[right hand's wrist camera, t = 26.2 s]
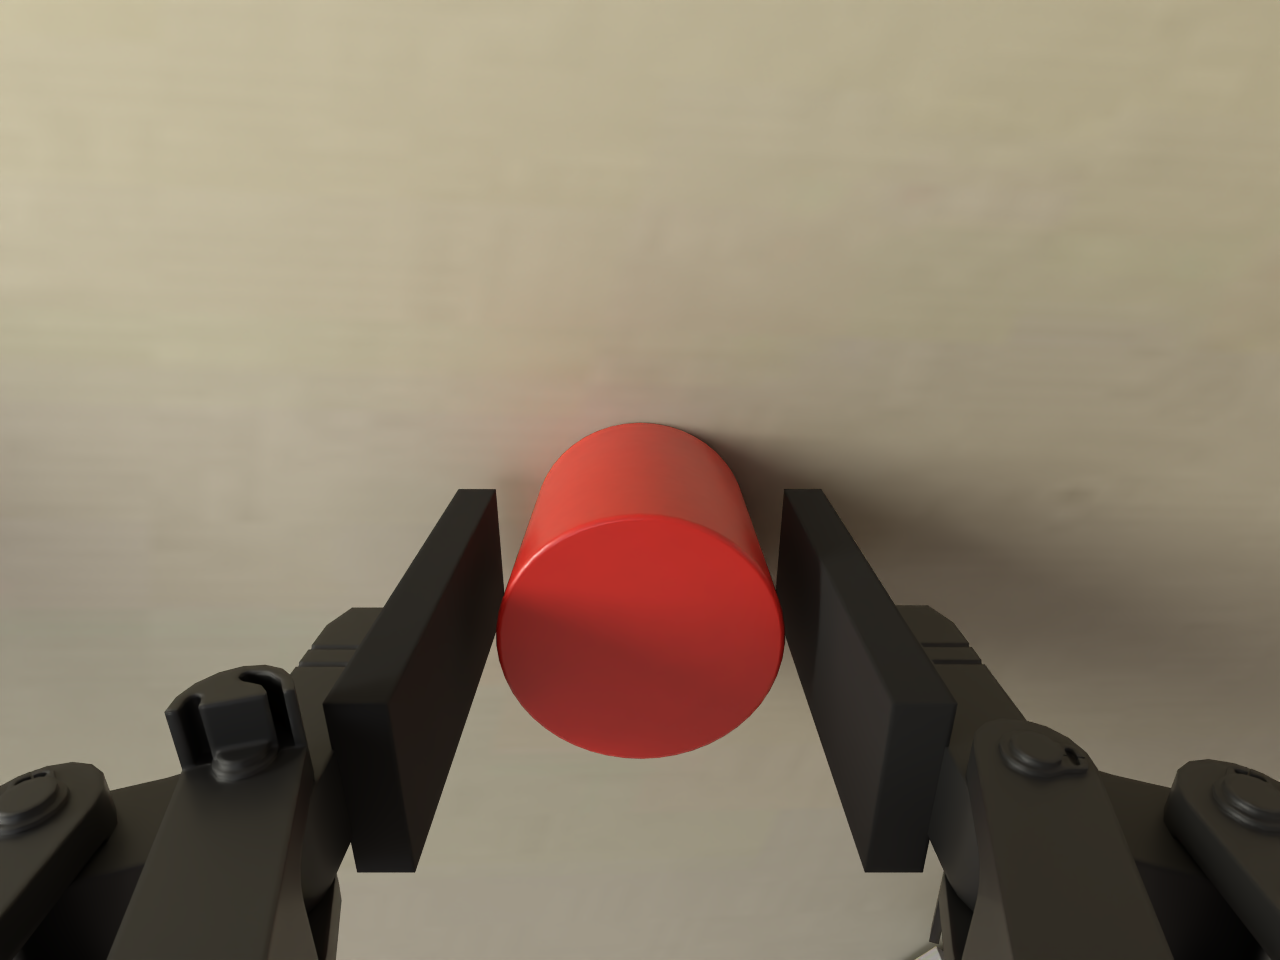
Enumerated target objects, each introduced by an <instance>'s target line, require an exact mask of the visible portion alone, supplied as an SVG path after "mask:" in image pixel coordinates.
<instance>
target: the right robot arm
mask: <svg viewBox="0 0 1280 960" xmlns="http://www.w3.org/2000/svg"><path fill="white" fill-rule="evenodd" d="M776 593H777V596H778V599H779V602H780V605H781V608H782V612H783V618H784V625H785V636H786V639H787V642H788V645H789V648H790V651H791V654H792V657H793V660H794V663H795V666H796V669H797V672H798V675H799V678H800V681H801V684H802V687H803V690H804V693H805V696H806V699H807V702H808V705H809V708H810V711H811V714H812V717H813V720H814V723H815V726H816V729H817V732H818V734H819V737H820V740H821V743H822V746H823V749H824V752H825V755H826V758H827V761H828V764H829V767H830V770H831V773H832V776H833V779H834V782H835V785H836V788H837V791H838V794H839V797H840V800H841V803H842V806H843V809H844V812H845V815H846V818H847V821H848V824H849V827H850V830H851V832H852V835H853V838H854V841H855V844H856V847H857V850H858V853H859V856H860V859H861V862H862V865H863V868H864V871H865V872H923V869H924V864H925V859H926V854H927V849H928V845H929V840H930V841H931V843H932V846H933V848H934V850H935V852H936V854H937V857H938V859H939V861H940V863H941V865H942V868H943V870H944V873H943V877H942V882H941V886H940V891H939V895H938V900H937V904H936V909H935V913H934V918H933V922H932V927H931V933H930V940H929V942H933V943H936V944H939V940H940V936H941V932H942V939H943V950H944V960H1280V782H1278V781H1276V780H1274V779H1272V778H1270V777H1269V776H1267V775H1265V774H1263V773H1260V772H1258V771H1255V770H1253V769H1249V768H1247V767H1243V766H1240V765H1238V764H1235V763H1229V762H1223V761H1217V760H1211V759H1206V760H1197V761H1189V762H1188V763H1186V764H1185V765H1184V766H1182V767H1181V768H1180V769H1178V771H1177V774H1176V777H1175V779H1174V782H1173V785H1172V787H1171V788H1168V787H1164V786H1159V785H1155V784H1150V783H1146V782H1142V781H1137V780H1133V779H1128V778H1124V777H1119V776H1115V775H1111V774H1108V773H1105V772H1101V771H1098V769H1097V767H1096V766H1095V764H1094V763H1093V761H1092V760H1091V758H1090V757H1089V755H1088V754H1087V753H1086V752H1085V751H1084V750H1083V749H1081V748H1080V747H1079V746H1078V745H1077V744H1075V743H1074V742H1073V741H1072V740H1071V739H1069V738H1068V737H1066V736H1064V735H1062V734H1060V733H1058V732H1056V731H1054V730H1052V729H1050V728H1048V727H1046V726H1043V725H1039V724H1036V723H1033V722H1029V721H1027V720H1026V719H1025V718H1024V716H1023V715H1022V714H1021V712H1020V711H1019V710H1018V708H1017V707H1016V706H1015V704H1014V703H1013V702H1012V700H1011V699H1010V698H1009V696H1008V695H1007V694H1006V692H1005V691H1004V690H1003V688H1002V687H1001V686H1000V684H999V683H998V682H997V680H996V679H995V678H994V676H993V675H992V674H991V672H990V671H989V670H988V668H987V667H986V666H985V664H982V663H981V659H980V658H979V656H978V655H977V654H976V652H975V651H974V650H973V648H972V647H969V643H968V642H967V640H966V639H965V638H964V636H963V635H962V634H961V632H960V631H959V630H958V628H957V627H956V626H955V624H954V623H953V622H951V621H950V620H948V619H947V618H946V617H944V616H943V615H941V614H940V613H938V612H937V611H935V610H934V609H932V608H931V607H929V606H895V604H894V603H893V601H892V600H891V598H890V596H889V595H888V593H887V592H886V590H885V589H884V587H883V585H882V584H881V582H880V581H879V579H878V578H877V576H876V574H875V573H874V571H873V570H872V568H871V567H870V565H869V563H868V562H867V560H866V559H865V557H864V556H863V554H862V552H861V551H860V549H859V548H858V546H857V545H856V543H855V541H854V540H853V538H852V537H851V535H850V534H849V532H848V530H847V529H846V527H845V526H844V524H843V523H842V521H841V519H840V518H839V516H838V515H837V513H836V512H835V510H834V508H833V507H832V505H831V504H830V502H829V501H828V499H827V497H826V496H825V494H824V493H823V491H822V490H821V489H784V498H783V510H782V522H781V534H780V547H779V559H778V571H777V583H776ZM503 596H504V583H503V571H502V559H501V547H500V535H499V523H498V511H497V498H496V489H459V490H458V491H457V493H456V494H455V496H454V497H453V499H452V501H451V502H450V504H449V505H448V507H447V508H446V510H445V512H444V513H443V515H442V516H441V518H440V519H439V521H438V523H437V524H436V526H435V527H434V529H433V530H432V532H431V534H430V535H429V537H428V538H427V540H426V541H425V543H424V545H423V546H422V548H421V549H420V551H419V552H418V554H417V556H416V557H415V559H414V560H413V562H412V563H411V565H410V567H409V568H408V570H407V571H406V573H405V574H404V576H403V578H402V579H401V581H400V582H399V584H398V585H397V587H396V589H395V590H394V592H393V593H392V595H391V596H390V598H389V600H388V601H387V603H386V604H385V606H384V607H383V608H351V609H350V610H348V611H347V612H345V613H344V614H342V615H341V616H339V617H338V618H337V619H335V620H334V621H332V622H331V623H329V624H328V625H327V626H326V627H325V628H324V630H323V631H322V632H321V634H320V635H319V636H318V638H317V639H316V640H315V642H314V643H313V644H312V649H311V650H308V651H307V653H306V654H305V655H304V657H303V658H302V659H301V661H300V662H299V667H295V669H294V670H293V671H292V673H291V674H288V673H287V672H286V671H285V670H284V669H282V668H277V667H272V666H268V665H256V666H242V667H238V668H235V669H231V670H227V671H223V672H219V673H217V674H215V675H213V676H210V677H208V678H206V679H204V680H202V681H199V682H197V683H195V684H194V685H192V686H191V687H190V688H188V689H187V690H185V691H184V692H183V693H181V694H180V695H178V696H177V697H176V698H175V699H174V701H173V702H172V703H171V705H170V706H169V707H168V708H167V710H166V711H165V716H166V719H167V722H168V725H169V728H170V732H171V735H172V738H173V741H174V744H175V748H176V751H177V754H178V757H179V760H180V764H181V767H182V772H181V774H179V775H175V776H172V777H168V778H165V779H160V780H156V781H151V782H147V783H143V784H138V785H134V786H129V787H125V788H121V789H116V790H112V791H110V790H109V788H108V785H107V782H106V779H105V777H104V774H103V772H101V771H100V770H99V769H97V768H96V767H95V766H94V765H92V764H85V763H76V762H70V763H64V764H58V765H52V766H46V767H43V768H41V769H38V770H34V771H32V772H29V773H26V774H24V775H21V776H18V777H16V778H14V779H13V780H11V781H9V782H7V783H5V784H3V785H2V786H0V960H336V952H337V941H338V931H339V921H340V910H341V894H340V887H339V882H338V877H337V871H338V869H339V867H340V864H341V862H342V860H343V858H344V856H345V853H346V851H347V849H348V847H349V845H350V842H351V845H352V850H353V854H354V859H355V864H356V869H357V872H415V871H416V868H417V865H418V862H419V859H420V856H421V853H422V850H423V847H424V844H425V841H426V838H427V835H428V832H429V829H430V827H431V824H432V821H433V818H434V815H435V812H436V809H437V806H438V803H439V800H440V797H441V794H442V791H443V788H444V785H445V782H446V779H447V776H448V773H449V770H450V767H451V764H452V761H453V758H454V755H455V752H456V749H457V746H458V743H459V740H460V737H461V734H462V731H463V728H464V726H465V723H466V720H467V717H468V714H469V711H470V708H471V705H472V702H473V699H474V696H475V693H476V690H477V687H478V684H479V681H480V678H481V675H482V672H483V669H484V666H485V663H486V660H487V657H488V654H489V651H490V648H491V645H492V642H493V639H494V636H495V633H496V626H497V619H498V612H499V609H500V606H501V602H502V599H503Z"/></svg>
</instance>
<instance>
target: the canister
mask: <svg viewBox="0 0 1280 960" xmlns="http://www.w3.org/2000/svg"><path fill="white" fill-rule="evenodd" d="M496 645H497V651H498V656H499V662H500V664H501V667H502V670H503V673H504V676H505V679H506V681H507V683H508V685H509V687H510V688H511V690H512V692H513V694H514V695H515V697H516V698H517V700H518V701H519V702H520V704H521V705H522V706H523V708H524V709H525V710H526V711H527V712H528V713H529V714H530V715H531V716H532V717H533V718H534V719H535V720H536V721H537V722H539V723H540V724H541V725H542V726H543V727H544V728H546V729H547V730H549V731H550V732H552V733H553V734H555V735H556V736H558V737H559V738H561V739H563V740H565V741H567V742H569V743H571V744H573V745H576V746H578V747H581V748H584V749H586V750H589V751H592V752H596V753H600V754H604V755H608V756H615V757H622V758H638V759H645V758H660V757H666V756H672V755H678V754H681V753H685V752H689V751H692V750H695V749H698V748H700V747H703V746H705V745H708V744H710V743H712V742H714V741H716V740H718V739H719V738H721V737H723V736H725V735H726V734H728V733H729V732H731V731H732V730H734V729H735V728H737V727H738V726H739V725H740V724H741V723H743V722H744V721H745V720H746V719H747V718H748V717H749V716H750V715H751V714H752V713H753V712H754V711H755V710H756V709H757V707H758V706H759V705H760V704H761V703H762V701H763V700H764V698H765V697H766V695H767V694H768V692H769V691H770V689H771V687H772V685H773V683H774V681H775V679H776V677H777V674H778V671H779V668H780V665H781V661H782V658H783V652H784V645H785V625H784V618H783V612H782V608H781V605H780V602H779V599H778V596H777V593H776V590H775V587H774V584H773V581H772V579H771V576H770V573H769V570H768V567H767V564H766V561H765V559H764V556H763V553H762V550H761V547H760V544H759V542H758V539H757V536H756V533H755V530H754V527H753V524H752V522H751V519H750V516H749V513H748V510H747V507H746V505H745V502H744V499H743V496H742V493H741V490H740V488H739V485H738V483H737V481H736V479H735V477H734V475H733V473H732V471H731V470H730V468H729V467H728V465H727V464H726V463H725V462H724V460H723V459H722V458H721V457H720V456H719V455H718V454H717V453H716V452H715V451H714V450H713V449H712V448H710V447H709V446H708V445H707V444H705V443H704V442H702V441H701V440H699V439H698V438H696V437H694V436H692V435H690V434H688V433H686V432H684V431H681V430H678V429H675V428H672V427H669V426H664V425H658V424H651V423H631V424H622V425H617V426H612V427H609V428H606V429H603V430H600V431H597V432H595V433H593V434H591V435H589V436H587V437H585V438H583V439H582V440H580V441H579V442H577V443H576V444H574V445H573V446H572V447H570V448H569V449H568V450H567V451H566V452H565V453H564V454H563V455H562V456H561V457H560V458H559V459H558V460H557V461H556V463H555V464H554V465H553V467H552V468H551V470H550V471H549V473H548V474H547V476H546V478H545V480H544V483H543V485H542V487H541V490H540V493H539V495H538V498H537V501H536V504H535V507H534V510H533V513H532V515H531V518H530V521H529V524H528V527H527V530H526V533H525V536H524V538H523V541H522V544H521V547H520V550H519V553H518V556H517V559H516V561H515V564H514V567H513V570H512V573H511V576H510V579H509V581H508V584H507V587H506V590H505V593H504V596H503V599H502V602H501V606H500V609H499V612H498V619H497V626H496Z"/></svg>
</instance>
